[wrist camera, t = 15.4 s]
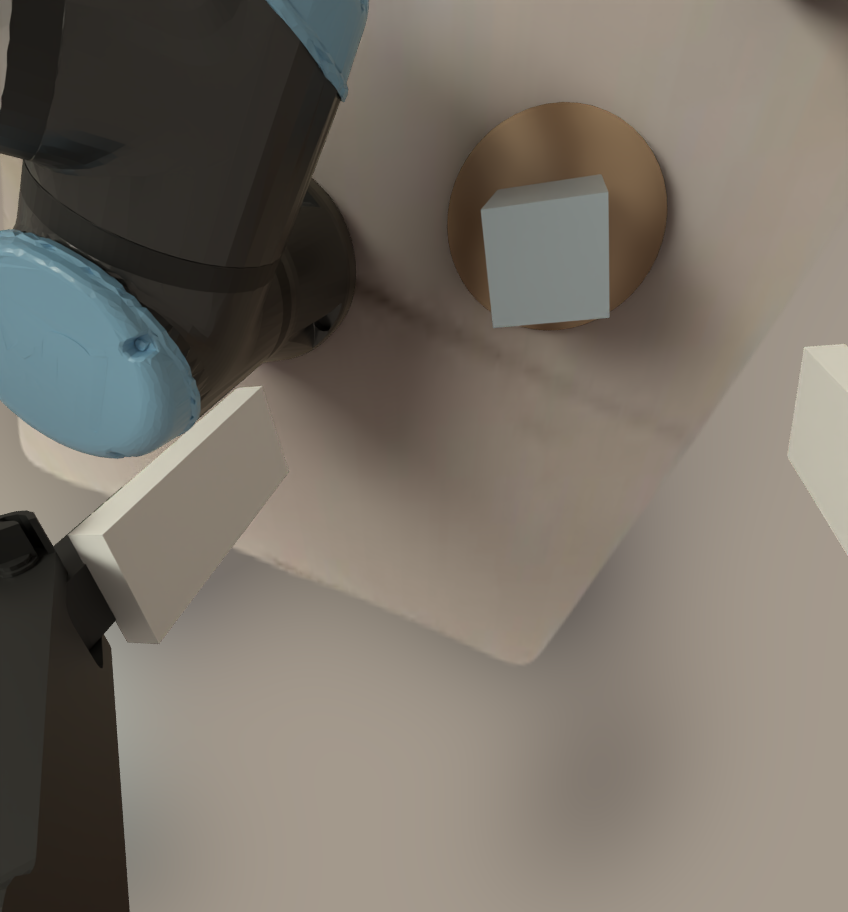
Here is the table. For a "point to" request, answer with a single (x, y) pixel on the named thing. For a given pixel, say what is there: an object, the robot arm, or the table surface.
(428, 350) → the table surface
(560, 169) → the peg stand
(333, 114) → the robot arm
